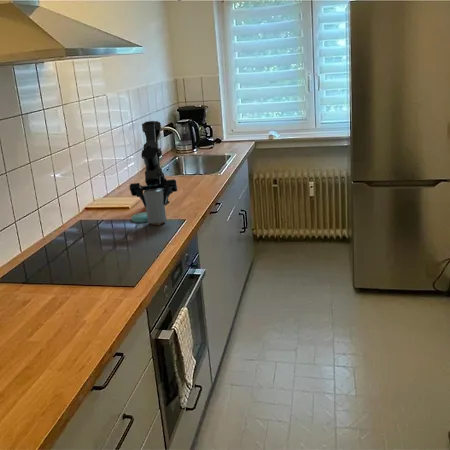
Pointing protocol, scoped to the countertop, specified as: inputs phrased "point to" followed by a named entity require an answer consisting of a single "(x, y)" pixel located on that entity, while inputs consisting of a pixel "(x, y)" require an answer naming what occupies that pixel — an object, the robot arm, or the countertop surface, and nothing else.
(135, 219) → the dish
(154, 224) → the walnut block
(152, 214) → the grey faceted cylinder
